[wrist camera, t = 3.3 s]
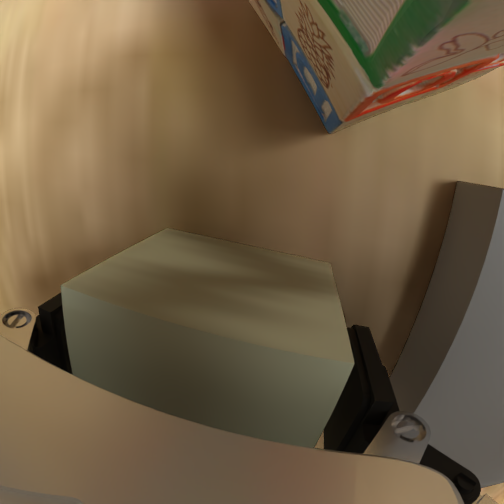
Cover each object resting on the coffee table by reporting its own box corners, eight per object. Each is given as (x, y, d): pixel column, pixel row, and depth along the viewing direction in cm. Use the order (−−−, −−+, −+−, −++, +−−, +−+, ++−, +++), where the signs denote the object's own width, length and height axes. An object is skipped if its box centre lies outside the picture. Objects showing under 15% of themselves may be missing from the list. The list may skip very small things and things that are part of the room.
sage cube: (330, 262, 11) (354, 363, 5) (290, 391, 13) (277, 508, 7) (168, 227, 11) (60, 285, 6) (159, 357, 13) (92, 450, 7)
